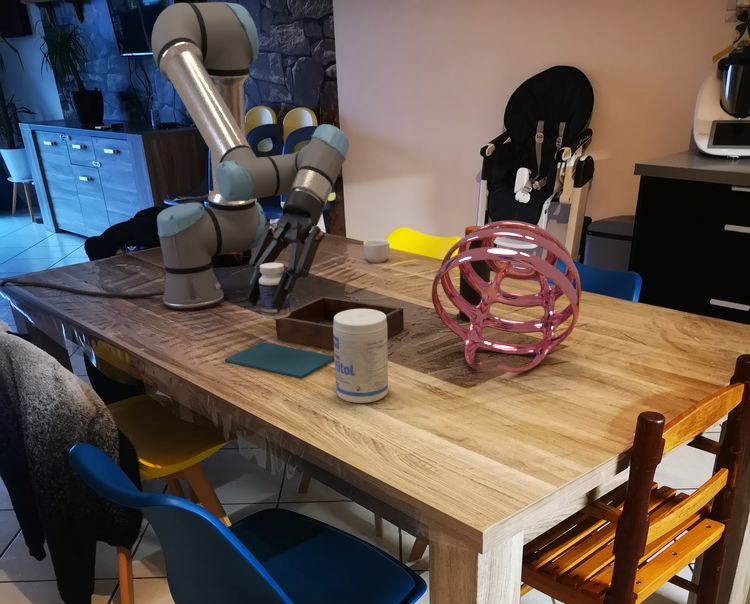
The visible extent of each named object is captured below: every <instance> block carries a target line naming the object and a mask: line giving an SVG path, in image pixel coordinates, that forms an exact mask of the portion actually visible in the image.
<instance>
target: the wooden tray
mask: <svg viewBox="0 0 750 604" xmlns="http://www.w3.org/2000/svg"><path fill="white" fill-rule="evenodd" d="M351 309H372V310H377V311H380V312H383V313H384V314H385V315H386V322H387V340H389V339H390V338H393V337H394V336H395V335H397V334H399V333H402V332H403V331H404V330H405V329H404V328H405V327H404V324H405V323H404V308H403V307H397V306H391V305H386V304H385V305H384V304H377V303H371V302H365V301H359V300H351V299H345V298H338V297H331V296H325V295H322V296H320V297H318V298H316V299H313V300H311V301H308V302H307V303H305V304H302V305H300V306H298V307H295V308H293V309H291V313H290V315H289V316H287V317H285V318H281V319H274V320H275V321H274V322H275V329H276V339H277V340H278V341H285V342H290V343H295V344H300V345H306V346H310V347H316V348H322V349H326V350H332V351H334V337H333V325H331V324H327V323H326V324H325V323H322V321H323V320H325V319H327V320H331V321H334V316H335V315H336V314H338V313H340V312H342V311H346V310H351ZM320 322H321V323H320Z"/></svg>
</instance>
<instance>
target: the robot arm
mask: <svg viewBox="0 0 750 604" xmlns="http://www.w3.org/2000/svg"><path fill="white" fill-rule="evenodd" d="M151 51H152V56H153V59H154V62H155V64H156V66H157V68H158V70H159V72H160V74H161V75H162V77H163V79H165V80H166V81H167V82H170V83H172V85H173V87H174V89H175V90H176V92H177V94H178V95H179V97H180V99H181V101H182V103H183V105H184V106H185V109H186V110H187V112H188V114H189V115H190V118H191V119H192V120H193V122H194V124H195V126H196V127H197V130H198V131H199V133H200V135H201V136H202V138H203V141H204V142H205V144H206V146H207V147H208V148H209V151H210V159H211V172H212V173H211V174H212V186H213V189H212V191H211V192H210V193H209V195H208V196H207V202H208V205H207V206H208V207H207V206H206V207H204V204H202V203H201V202H195V201H193V202H187V203H179V204H175V205H172V206H170V207H167V208H164V209H163V210H162V211H160V212H159V213H158V214H157V217H156V223H157V235H158V239H159V243H160V249H161V254H162V259H163V265H164V270H165V280H164V281H165V283H164V291H155V292H150V293H112V292H111V293H109V292H97V291H90V290H84V289H83V290H82V289H78V288H73V287H68V286H65V285H58V284H53V283H47V282H40V281H28V280H27V281H24V280H17V279H11V278H10V279H4V280H3V281H1V282H0V287H4V286H5V285H6V284H9V283H11V284H18V285H22V286H23V285H25V286H38V287H46V288H52V289H57V290H63V291H67V292H71V293H77V294H82V295H87V296H95V297H106V298H126V299H127V298H128V299H129V298H131V299H132V298H133V299H135V298H138V299H139V298H152V297H158V296H162V300H163V306H164V307H165V308H167V309H169V310H173V311H198V310H205V309H209V308H213V307H215V306H218V305H220V304H222V303H223V302H224V300H225V297H224V295H225V294H224V291H223V289H222V287H221V283H220V282H219V280H218V278H217V275H216V274H215V272H214V270H213V267H212V262H211V257H213V256H218V255H223V254H229V253H234V252H243V251H247V250H248V249H251V250H253V249H254V251H253V253H252V257H250V259H249V261H248V264H249V265H250V267H251V268H252V269H253V270H254V272H253V274H252V276H251V278H250V281H249V285H250V286H249V288H248V291H247V293H246V296H245V299H246V300H247V301H248V302H249V303H250V304H251V305H252V306H257V304H258V302H259V299H260V289H259V279H260V277H261V276H262V273H261V272H260V265H262V264H265V263H275V262H276V260H277V259H278V257H279V256H280V254H281V253H282V252H283V250H285V249H287V248H288V246H290V245H291V246H290V253H289V259H288V266H287V268H285V271H284V272H283V274H282V277H281V279H280V282H279V284H278V286H277V289H276V291H275V294H274V296H273V298H272V301H271V303H272V304H273V305H274V306H275V307H276V308H277V309H279V310H281V309H282V307H283V304H284V302H285V300H286V297H287V295H288V293H289V294H291V292H293V289H294V287H295V284H296V282H297V280H299V278H303V279H306V278H308V276H309V274H310V270H311V268H312V265H313V262H314V259H315V257H316V254H317V251H318V248H319V246H320V244H321V243H322V241H323V240H324V238H325V236H326V235H325V233H324V231H323V230H322V229H321V228H320V226H318V225H319V223H320V219H321V218H322V215H323V212H324V208H325V207H326V204H327V202H328V200H329V197H330V195H331V192H332V191H333V187H334V186H335V183H336V181H337V178H338V177H339V174H340V172H341V169H342V166H343V164H344V162H345V161H346V158H347V154H348V151H349V148H350V141H349V138H348V136H347V135H346V134H345V132H343V131H342V130H341V129H340V128H338V127H337V126H335V125H332V124H327V123H326V124H319V125H318V126H317V127H316V128H315V130H314V132H313V134H312V135H311V137H310V141H309V142H308V144H307V145H305V146H303V147H302V148H300V149H299V150H298V151H295V152H293V153H287V154H279V155H278V154H277V155H271V156H263V157H262V156H260V157H259V156H258V157H257V156H256V154H255V152H254V150H253V149H252V147H251V146H250V144H249V142H248V140H247V131H246V111H245V89H244V88H245V87H244V83H245V81H246V80H247V79H248V77H249V76H250V65H253V63H255V62H257V59H258V55H259V51H260V39H259V35H258V31H257V27H256V23H255V21H254V19H253V18H252V15H251V14H250V12H249V11H248V10H247V9H246V8H245V7H244V6H243V5H242V4H239V3H235V2H234V3H232V2H225V1H218V2H217V1H216V2H177V3H173V4H171V5H169V6H167V7H166V8H165V9H163V10H162V11H161V12H160V13H159V15H158V17H157V18H156V20H155V22H154V25H153V29H152V32H151ZM282 195H286V198H285V201H284V203H283V205H282V215H281V217H280V218H278V220H277V222H273V223H271V222H270V221H266V218H265V214H264V210H263V208H262V205H261V204H260V203H259V202H258V201H257V200H256V199H261V198H266V197H267V198H268V197H276V196H282Z"/></svg>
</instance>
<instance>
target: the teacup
mask: <svg viewBox="0 0 750 604" xmlns="http://www.w3.org/2000/svg"><path fill="white" fill-rule="evenodd" d="M362 245H363V253H364V257H365V259H366V260H367V261H368V262H370V263H372V264H373V263H374V264H378V263H383V262H385V261H386V260H387V259H388V258H389V256H390V241H389V240H386V239H369V240H368V239H367V240H365V241H363V244H362Z"/></svg>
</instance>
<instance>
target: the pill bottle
mask: <svg viewBox="0 0 750 604" xmlns="http://www.w3.org/2000/svg"><path fill="white" fill-rule="evenodd" d="M260 272H261V273H262V276H261V277H260V279H259V289H260V297H259V299H260V306H261V307H260V308H261V314H262V316H263V318H265V319H268V320H269V319H270V320H275V319H281V318H285V317H287V316H289V315H290V313H291V310H292V309H291V300H290V293H288V295H287V297H286V300H285V302H284V304H283V307H282V309H281V310H279V309H277V308H276V307H275V306H274V305H273V304H272V303H271V301H272V298H273V296H274V294H275V291H276V289H277V286H278V284H279V282H280V279H281V277H282V274H283V272H285V265H284V263H281V262H274V263H265V264H262V265H260Z"/></svg>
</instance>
